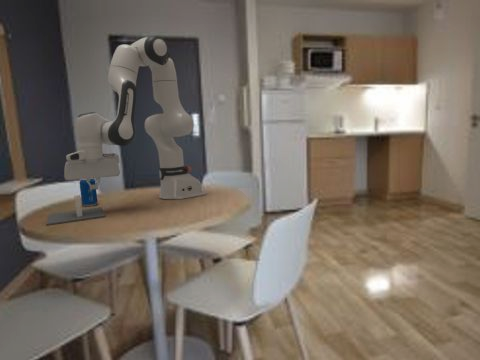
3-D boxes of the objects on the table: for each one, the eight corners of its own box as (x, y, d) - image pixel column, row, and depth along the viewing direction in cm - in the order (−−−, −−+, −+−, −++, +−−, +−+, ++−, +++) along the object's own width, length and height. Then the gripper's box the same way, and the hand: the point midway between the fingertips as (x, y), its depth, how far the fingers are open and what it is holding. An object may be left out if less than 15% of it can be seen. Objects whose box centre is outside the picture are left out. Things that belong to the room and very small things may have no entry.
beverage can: (84, 207, 157) (81, 180, 156) (80, 205, 162) (77, 179, 161) (99, 204, 161) (96, 178, 160) (95, 202, 166) (92, 177, 165)
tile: (81, 212, 146) (79, 194, 145) (82, 216, 139) (80, 198, 138) (76, 212, 145) (74, 195, 144) (76, 216, 138) (74, 198, 137)
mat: (101, 208, 154) (101, 206, 154) (105, 217, 138) (105, 215, 138) (48, 215, 145) (48, 214, 145) (46, 225, 129) (46, 223, 129)
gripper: (117, 152, 148) (120, 186, 150) (62, 155, 140) (66, 191, 142) (119, 153, 143) (122, 187, 144) (62, 156, 134) (66, 193, 136)
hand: (94, 189), depth 143 cm, fingers closed
